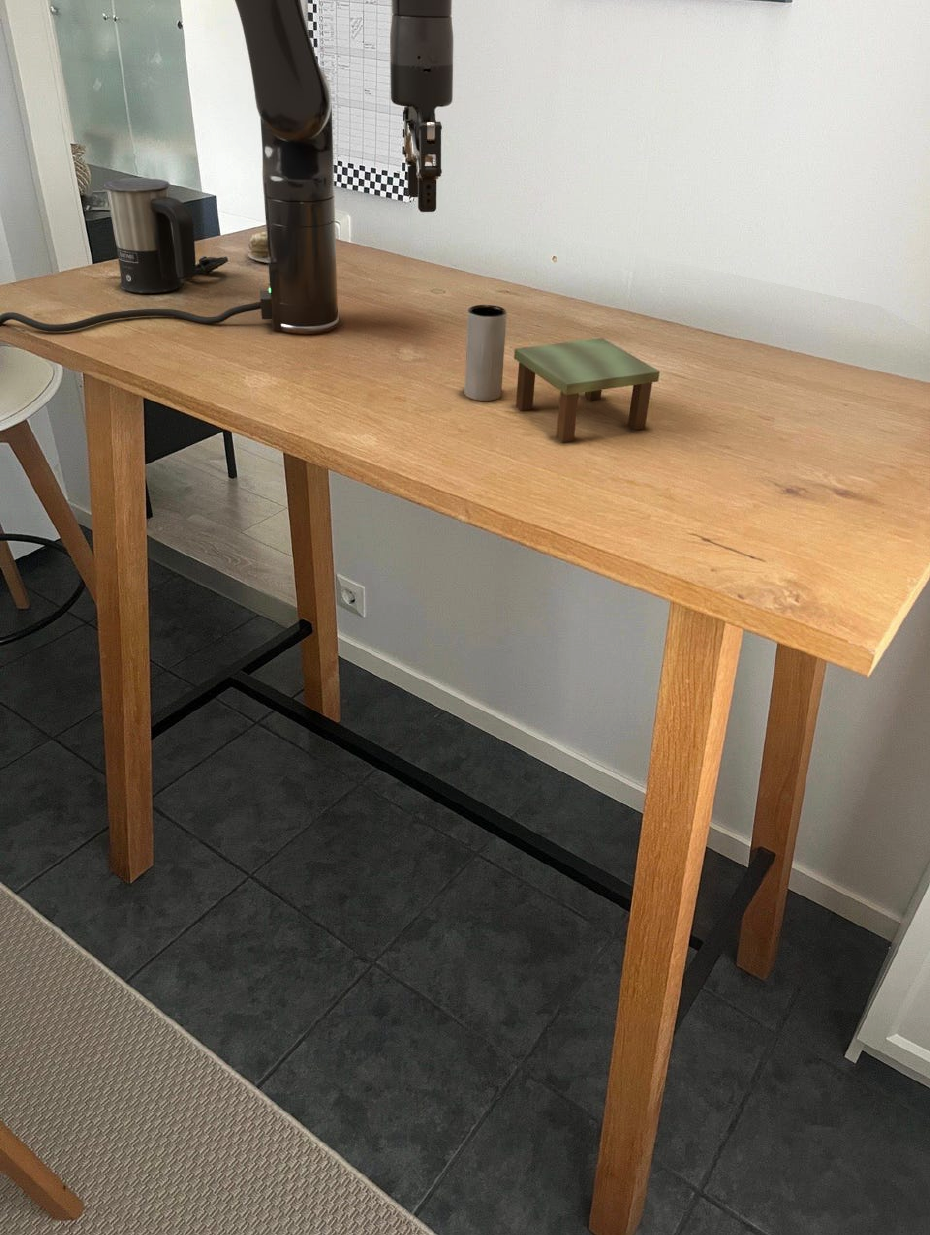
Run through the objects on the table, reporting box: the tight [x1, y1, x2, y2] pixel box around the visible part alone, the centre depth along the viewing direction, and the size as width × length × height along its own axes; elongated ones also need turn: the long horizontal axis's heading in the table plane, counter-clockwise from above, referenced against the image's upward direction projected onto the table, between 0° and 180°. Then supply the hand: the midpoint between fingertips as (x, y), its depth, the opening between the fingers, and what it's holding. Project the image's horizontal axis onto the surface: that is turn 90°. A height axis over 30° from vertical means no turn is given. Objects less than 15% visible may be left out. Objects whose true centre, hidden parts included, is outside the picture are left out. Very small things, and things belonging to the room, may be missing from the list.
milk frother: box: [103, 177, 229, 294], centre depth 150 cm, size 14×16×15 cm
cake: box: [246, 231, 268, 263], centre depth 167 cm, size 10×10×5 cm
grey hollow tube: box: [463, 304, 508, 402], centre depth 117 cm, size 4×4×10 cm
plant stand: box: [513, 337, 661, 443], centre depth 114 cm, size 12×12×7 cm
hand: (421, 204), depth 126 cm, fingers open, 8 cm apart
